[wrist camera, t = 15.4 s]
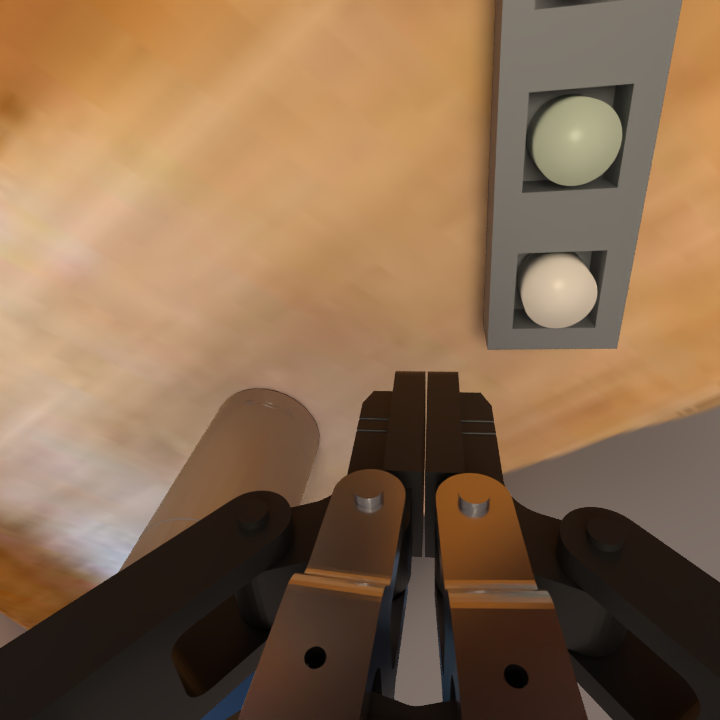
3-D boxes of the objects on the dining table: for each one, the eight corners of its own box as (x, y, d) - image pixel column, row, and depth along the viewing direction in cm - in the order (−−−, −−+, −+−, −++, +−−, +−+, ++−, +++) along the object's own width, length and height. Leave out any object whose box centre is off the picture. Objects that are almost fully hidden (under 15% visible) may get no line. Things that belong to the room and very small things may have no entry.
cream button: (580, 305, 34) (592, 327, 31) (514, 307, 35) (520, 328, 32) (588, 244, 32) (602, 261, 29) (518, 246, 33) (525, 264, 30)
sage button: (598, 171, 30) (614, 183, 27) (523, 176, 30) (532, 188, 28) (610, 90, 28) (628, 94, 25) (529, 97, 28) (539, 101, 26)
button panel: (600, 320, 36) (616, 348, 33) (483, 322, 37) (487, 349, 34) (681, -171, 24) (721, -209, 20) (501, -143, 25) (510, -174, 21)
